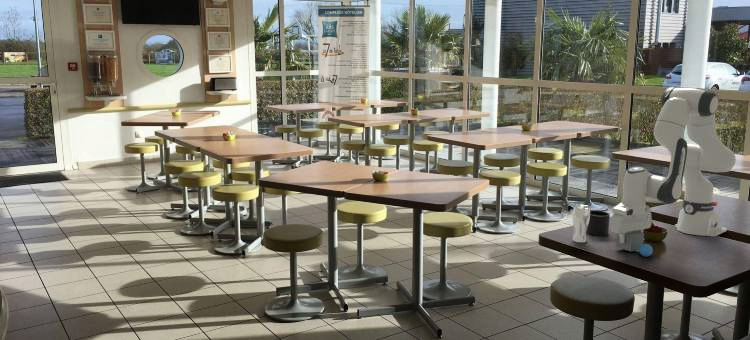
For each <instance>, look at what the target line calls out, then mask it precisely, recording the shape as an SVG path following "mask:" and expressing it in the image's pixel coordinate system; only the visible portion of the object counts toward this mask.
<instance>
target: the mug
mask: <svg viewBox="0 0 750 340" xmlns="http://www.w3.org/2000/svg"><path fill="white" fill-rule="evenodd" d="M610 217H611V214H610V213H609V212H608V211H607V212H606V211H602V210H590V221H589V225H588V229H587V234H588V235H590V236H596V237H604V236H607V235H609V232H610V231H609V230H610Z"/></svg>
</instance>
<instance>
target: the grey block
mask: <svg viewBox="0 0 750 340" xmlns="http://www.w3.org/2000/svg"><path fill="white" fill-rule="evenodd" d="M624 237H625V239H626V243H620V237H619V235H618V234H616V238H615V240H616V241H615V247H616V248H619V249H622V250H625V251H627V252H628V251H629V252H635V251H639V247H640V246H641V245H642V244H644V241H645V240H644V239H645V233H644V231H643V232H639V231H631V232H626V233H625V235H624Z"/></svg>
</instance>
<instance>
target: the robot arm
mask: <svg viewBox="0 0 750 340" xmlns="http://www.w3.org/2000/svg"><path fill="white" fill-rule="evenodd" d="M719 100H720V99H719V96H718V95H717V94H716V93H715V92H714V91H711V90H704V89H699V88H694V87H689V88H688V87H677V86H672V87H668V88H666V89H665V90H664V91H663V92H662V94H661V97H660V105H661V110H660V112H659V114H658V116H657V117H656V118H657V119H656V122H655V124H654V126H653V127H654V128H653V137H654V140H656V142H657V143H658V144H659V145H661V146H662V147H664V148H665V149H666V150H667V151H668V152H669V154H670V163H669V169H668V173H667V176H661V175H657V174H653V173H651V172H648V170H647V169H646V168H645V167H643V166H631V167H629V168H627V169H626V171H625V174H624V177H623V181H622V182H623V184H622V192H623V195H622V198H621V202H619V203H618V204H617V205H615V206H613V207H612V209H611V212H612V213H613V215H612V216H611V221H610V231H611V232H612V233H613V234H616V235H617V234H618V235H619V237H620V243H626V239H625V237H624V235H625V233H626V232H631V231H639V232H643V233H644V230H646V229H650V228H651V226H652V212H651V208H650V206H649V205H646V202H647V201H646V198H648V199H650V200H655V201H658V202H661V203H664V204H666V205H671V204H673V203H675V202H677V201H678V200H679V199H681V197H682V196H683V195H682V194H683V181H684V198H683V199H682V206H681V207H682V209H680V210H679V214H678V219H677V223H676V224H674V225H675V226H674V227H675V228H676V229H677V231H679V232H680V233H684V234H687V235H692V236H693V235H694V236H703V237H704V236H706V237H717V236H719V235H721V234H723V233H726V232H727V228H726V227H725V226H722V222H723V221H722V220H723V219H722V217H721V216H720V215H719V214H718V213H717V212H716V211H715V209H714V207H717V206H718V201H714V200H713V195H714V184H713V182H711V180H709V179H708V178H706V177H705V176H704V175H703V173H702V171H704V172H705V171H706V172H712V173H727V172H730V171H731V170H733V168H734V166H735V164H736V159H737V158H736V154H735V153H734V151H733V150H732V149H730V148H729V147H727V146H726V145H725V144H724V143H723V142H722V141H721V139H720V137H719V135H718V131H717V127H716V126H717V124H716V123H717V122H716V112H717V110H718V108H719V105H720V104H719V103H720V101H719ZM685 130H686V134H687V137H688V139H689V140H691V142H693V143H687V140H686V139H685ZM694 143H695V144H694Z"/></svg>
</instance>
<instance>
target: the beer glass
mask: <svg viewBox="0 0 750 340" xmlns="http://www.w3.org/2000/svg"><path fill="white" fill-rule="evenodd" d="M572 211H573V212H572V227H573V235H572V239H571V241H572V242H575V243H578V244H584V243H585V242H586V243H587V242H588V237H587V236H588V235H587V234H588V233H587V229H588V225H589V221H590V211H591V206H589V205H586V204H575V205H573V210H572Z"/></svg>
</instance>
